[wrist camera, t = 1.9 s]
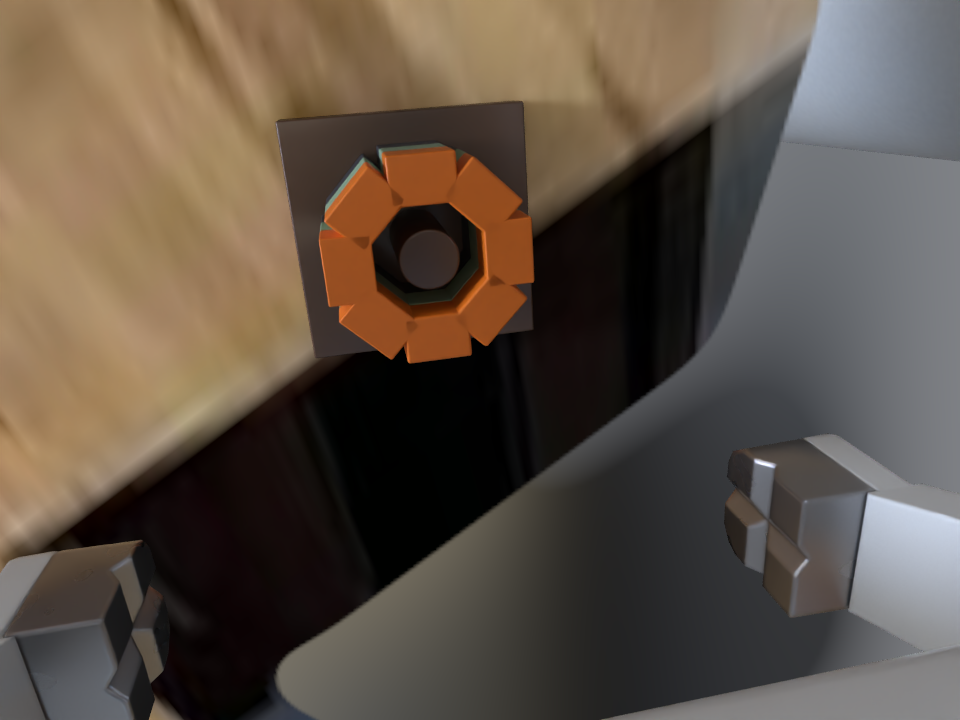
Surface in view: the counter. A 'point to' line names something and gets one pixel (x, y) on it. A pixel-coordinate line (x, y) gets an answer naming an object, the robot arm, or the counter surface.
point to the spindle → (414, 230)
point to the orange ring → (480, 299)
